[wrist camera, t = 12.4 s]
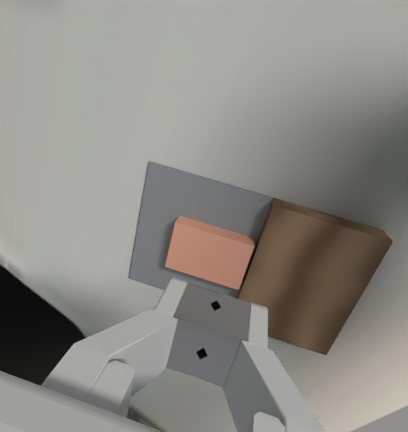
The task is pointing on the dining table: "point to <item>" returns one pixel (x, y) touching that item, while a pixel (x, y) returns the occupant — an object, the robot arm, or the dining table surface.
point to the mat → (194, 209)
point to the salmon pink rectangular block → (209, 252)
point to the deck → (310, 272)
